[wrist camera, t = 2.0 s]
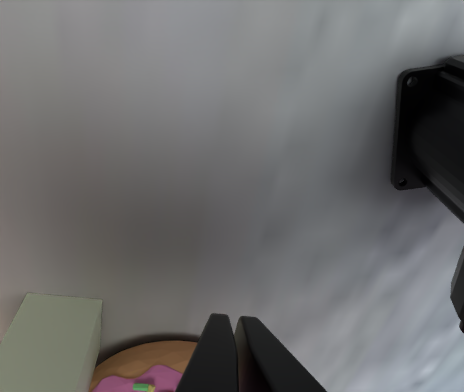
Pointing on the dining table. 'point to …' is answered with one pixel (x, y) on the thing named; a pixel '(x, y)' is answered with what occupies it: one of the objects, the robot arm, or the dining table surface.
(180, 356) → the donut
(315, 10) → the dining table surface
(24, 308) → the sage block
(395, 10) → the dining table surface
